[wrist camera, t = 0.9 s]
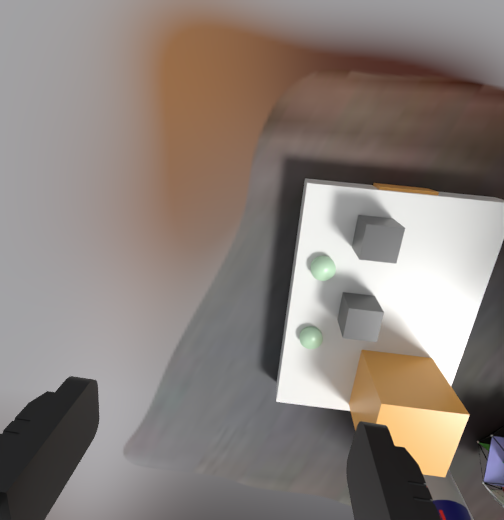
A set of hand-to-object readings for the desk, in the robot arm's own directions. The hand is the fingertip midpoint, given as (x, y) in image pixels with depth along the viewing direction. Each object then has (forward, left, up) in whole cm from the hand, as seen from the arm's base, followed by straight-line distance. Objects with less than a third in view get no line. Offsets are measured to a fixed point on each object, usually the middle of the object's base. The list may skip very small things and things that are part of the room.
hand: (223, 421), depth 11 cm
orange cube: (-12, +10, -16) cm, 23 cm away
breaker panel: (-10, +4, -19) cm, 22 cm away
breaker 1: (-8, -2, -16) cm, 18 cm away
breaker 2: (-8, +4, -16) cm, 19 cm away
